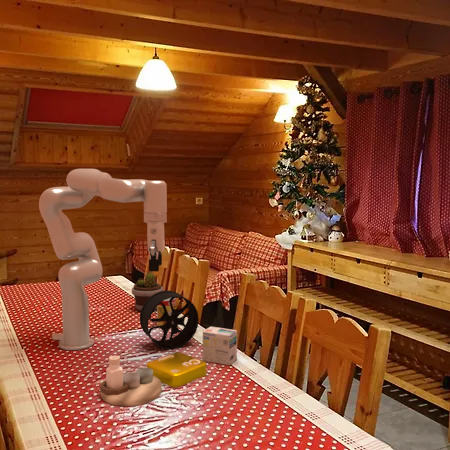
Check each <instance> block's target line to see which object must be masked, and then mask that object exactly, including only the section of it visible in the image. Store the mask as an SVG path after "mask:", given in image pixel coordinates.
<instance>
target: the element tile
mask: <svg viewBox="0 0 450 450" xmlns="http://www.w3.org/2000/svg"><path fill="white" fill-rule="evenodd" d="M146 368H150V369H152V370H153V376H155V377H157V378H158V379H159V380H160V381H161V383H162V384H164V385H166V386H168V387H171V388H180V387H182V386H185V385H188V384H190V383H192V382H194V381H196V380H198V379H201V378H203V377H205V376H207V372H208V371H207V361H204V360H203V359H199V358H196V357H193V356H192V355H188V354H185V353H183V352H180V351H177V352H173V353H171V354H170V353H169V354H168V355H165V356H161V357H159V358H156V359H153V360H151V361H149V362H147V363H146Z"/></svg>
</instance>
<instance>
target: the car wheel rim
mask: <svg viewBox="0 0 450 450" xmlns="http://www.w3.org/2000/svg"><path fill="white" fill-rule="evenodd" d="M168 298H171V299H170V300H169V303H170V307H171V310H172V313H171V316H169V315H168V312H167V309H166V306H165V304H164V303H161V302H162V301H163V300H166V299H168ZM174 298H176V299H182V300H183V301H184V302H185V305H184V306H182V307H181V308H180V309H177V308H176V309H174V308H173V306H172V300H173V299H174ZM159 304H162V307H163V309H164V314H163V315H162V317H161V318H157V317H156V318H152V314H153V313H154V312H155V311H154V310H155V308H156V307H157V306H158V305H159ZM187 309H188V311H187V312H186V313H184V312H185V311H186V310H187ZM183 313H184V315H182V316H181V317H179V316H180V315H181V314H183ZM186 318H187V320H186ZM185 320H186V323H185ZM160 321H165V322H166V324H164V325H160V326H157V325H155V326H151V327H150V328H149V322H152V323H157V322H160ZM199 322H200V321H199V313H198V310H197V307H196V306H195V304H194V303H193V302H192V301H191V300H189V299H188V298H186V297H184V296H183V295H182V294H180V293H179V292H176V291H174V290H173V291H172V290H163V291H160V292H157V293H155V294H154V295H152V296H151V297H150V298H148V299H147V301H146V302H145V303H144V305H143V307H142V309H141V311H140V312H139V323H140V328H141V329H142V331H143V333H144V334H145V335H146V336H147V337H148V338H149V339H150V341H151V342H152V343H153V344H155V346H157V347H158V348H160V349H164V350H176V349H179V348H182V347H184V346H185V345H187V344H188V343H189V342H190V341H191V340H192V338H193V337H194V336H195V334H196V332H197V330H198V327H199ZM178 326H182V327H183V328H182V329H179V327H178ZM157 329H160V330H161V331H162V332H163V335H162V337H161V340H159V339H156V338H154V337H152V335H151V332H152V331H153V330H157ZM169 331H170V334H169V339H167V336H168V333H169ZM174 335H175V336H174Z"/></svg>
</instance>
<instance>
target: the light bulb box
mask: <svg viewBox="0 0 450 450" xmlns="http://www.w3.org/2000/svg"><path fill="white" fill-rule="evenodd" d="M237 359H238V330H237V329H232V328H231V329H230V328H223V327H218V326H217V327H216V326H209V327H207V328H206V329H204V330H202V361H205V362H210V363H214V364H215V363H216V364H220V365H225V366H230V365H231V364H233V363H235V361H237Z"/></svg>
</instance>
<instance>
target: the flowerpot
mask: <svg viewBox="0 0 450 450" xmlns="http://www.w3.org/2000/svg"><path fill="white" fill-rule="evenodd" d="M143 277H144V278H143ZM143 277H140V279H138V280H137V281H136V283H135V284H133V287H132V288H131V295H133V297H134V301H135V302H134V307H135V309H136V310H137V311H138V312H141V309H142V307H143V305H144V303H145V302H146V301H147V299H148V298H150V297H151V296H152V295H154V294H155V293H157V292H160V291H164V288H163V286H162V285H161V284H159V283H157V281H156V280H157V276H156V274H155V273H154V271H149V270H148V271H147V272H146V273H145V274H144V276H143ZM153 312H157V307H156V308H155V310H154V311H153Z"/></svg>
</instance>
